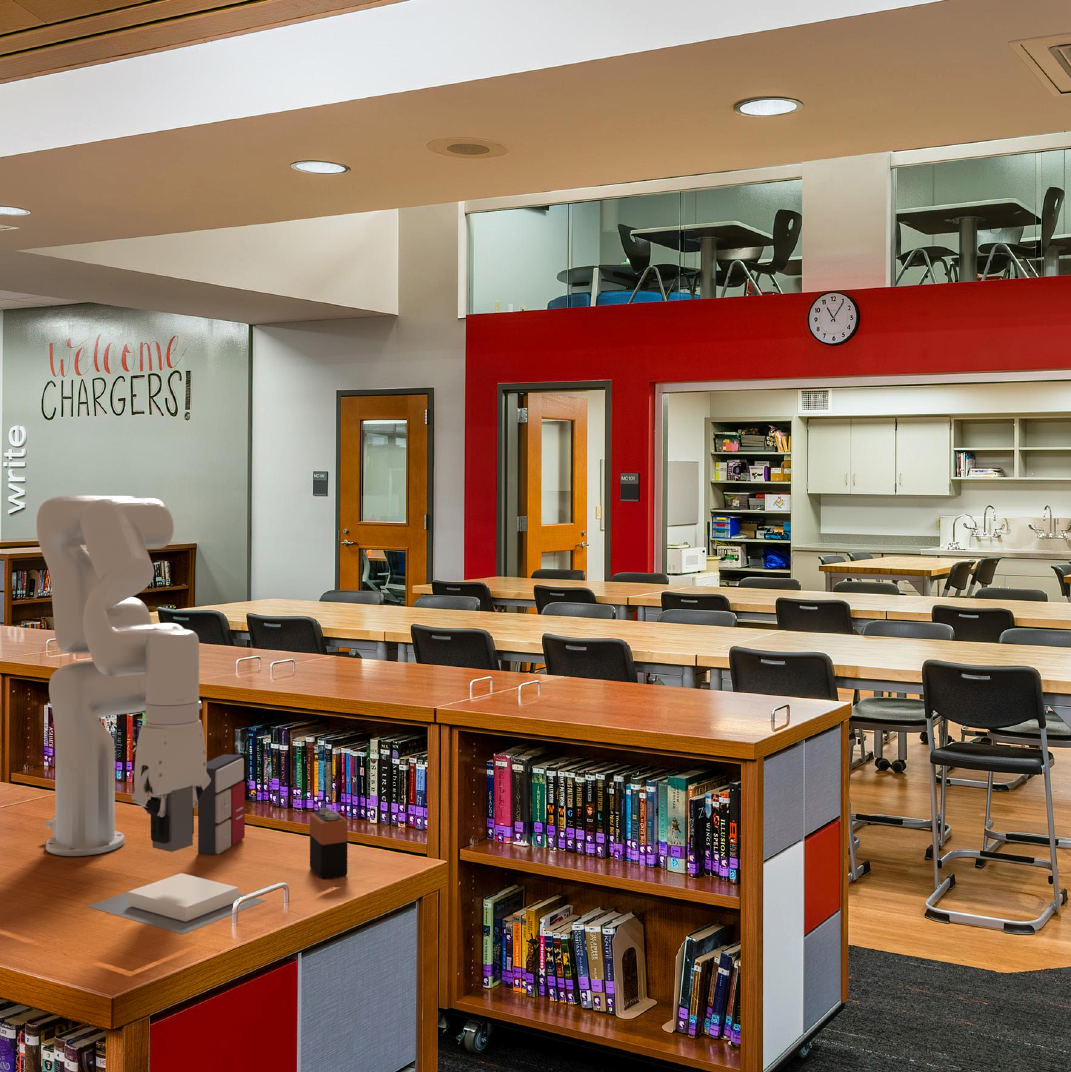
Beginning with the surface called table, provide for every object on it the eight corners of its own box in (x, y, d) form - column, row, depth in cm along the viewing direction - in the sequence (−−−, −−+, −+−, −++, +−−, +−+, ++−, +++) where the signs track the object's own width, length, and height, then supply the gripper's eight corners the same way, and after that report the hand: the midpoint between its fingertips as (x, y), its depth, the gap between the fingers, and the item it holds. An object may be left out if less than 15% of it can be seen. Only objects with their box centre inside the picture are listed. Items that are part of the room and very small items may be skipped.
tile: (127, 891, 171) (185, 907, 165) (181, 873, 180) (238, 887, 173) (127, 907, 171) (185, 923, 165) (181, 887, 180) (238, 902, 173)
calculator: (218, 858, 196) (218, 769, 195) (194, 856, 197) (194, 767, 196) (247, 839, 207) (247, 754, 206) (224, 837, 208) (224, 753, 207)
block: (152, 847, 173) (152, 786, 172) (173, 840, 176) (173, 780, 176) (171, 852, 170) (171, 790, 170) (192, 845, 174) (192, 784, 174)
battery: (321, 880, 185) (321, 817, 185) (308, 868, 191) (309, 807, 191) (348, 876, 187) (348, 814, 187) (334, 864, 193) (335, 804, 193)
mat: (86, 909, 171) (86, 906, 171) (172, 879, 185) (172, 876, 185) (182, 937, 161) (182, 934, 161) (266, 903, 175) (266, 900, 175)
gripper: (198, 703, 182) (197, 820, 182) (108, 720, 167) (108, 847, 168) (233, 708, 178) (232, 828, 178) (144, 726, 163) (144, 856, 164)
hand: (172, 836), depth 173 cm, fingers closed on block, 4 cm apart
